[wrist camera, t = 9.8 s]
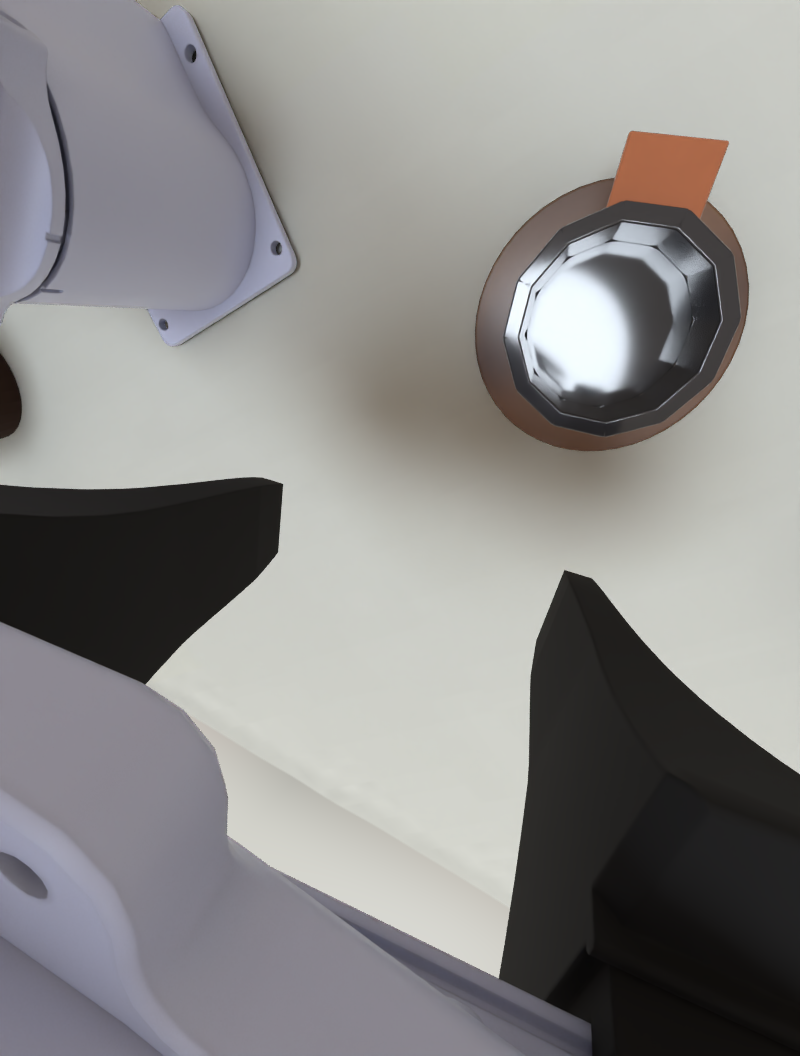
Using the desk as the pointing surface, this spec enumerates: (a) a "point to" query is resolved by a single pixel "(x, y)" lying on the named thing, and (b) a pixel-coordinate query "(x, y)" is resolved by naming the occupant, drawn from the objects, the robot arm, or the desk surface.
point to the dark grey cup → (628, 297)
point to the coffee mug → (8, 401)
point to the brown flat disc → (500, 297)
